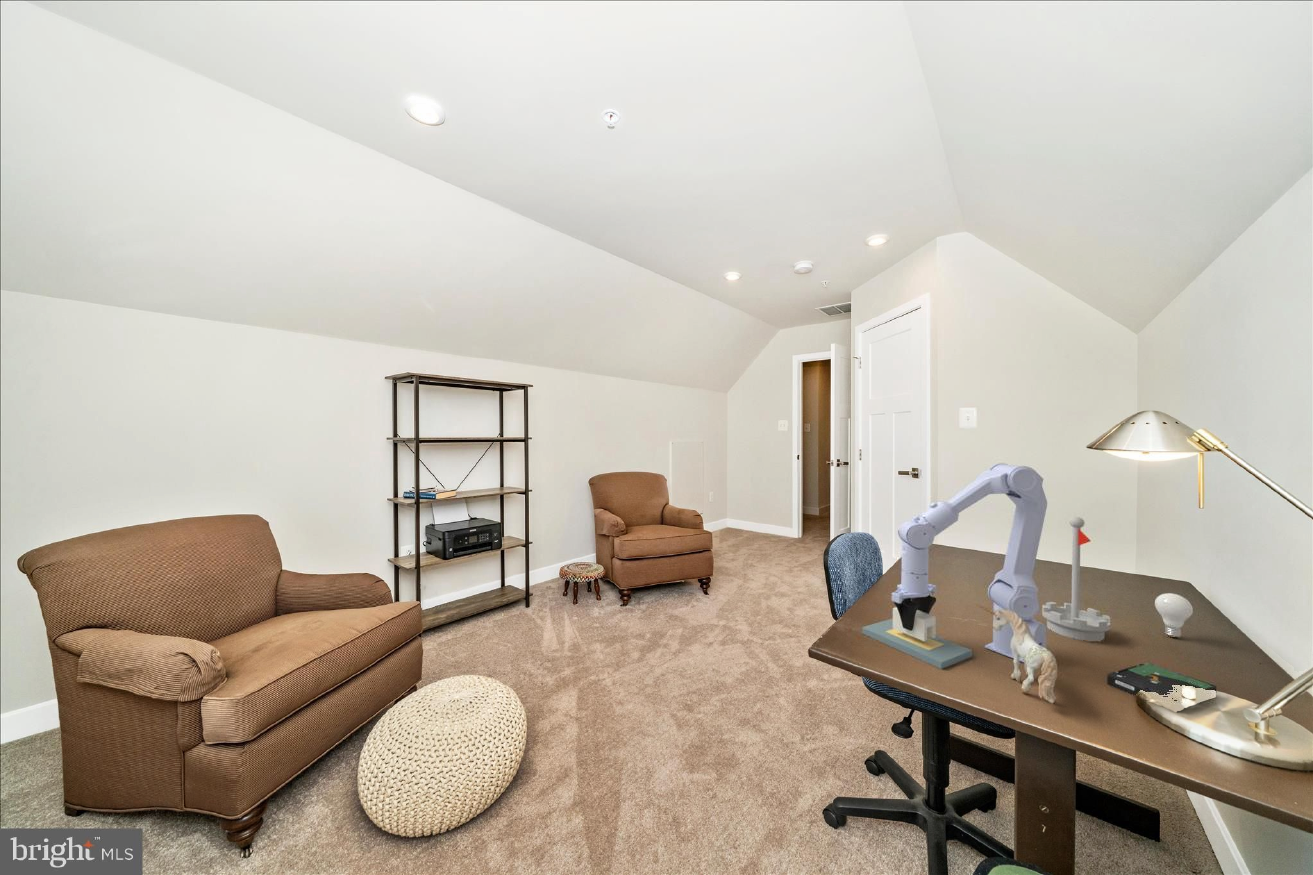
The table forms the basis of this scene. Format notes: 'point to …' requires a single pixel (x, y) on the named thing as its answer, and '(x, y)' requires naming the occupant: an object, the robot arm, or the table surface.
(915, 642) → the pin board
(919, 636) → the channel block
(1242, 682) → the table surface
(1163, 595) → the lightbulb
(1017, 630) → the unicorn figurine
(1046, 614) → the flag stand
